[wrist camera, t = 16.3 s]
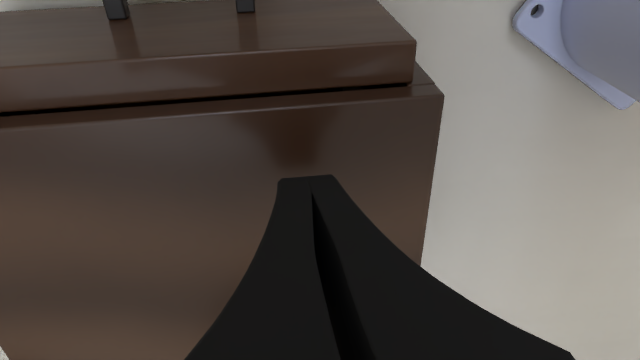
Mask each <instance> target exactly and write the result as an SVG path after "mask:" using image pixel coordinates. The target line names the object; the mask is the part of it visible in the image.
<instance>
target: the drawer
mask: <svg viewBox="0 0 640 360" xmlns="http://www.w3.org/2000/svg"><path fill="white" fill-rule="evenodd" d="M103 4H104V6H99V7H80V8H61V9H43V10H24V11H5V12H0V113H2V112H13V113H12V114H11V115H10V116H18V115H32V114H45V113H59V112H72V111H85V110H99V109H112V108H126V107H139V106H152V105H166V104H179V103H193V102H206V101H219V100H233V99H246V98H260V97H273V96H286V95H300V94H313V93H327V92H340V91H353V90H365V88H364V86H368V85H381V84H395V83H408V82H412V81H413V75H414V65H415V55H416V44H417V42H416V40H415V39H414V38H413V37H412V36H411V35H410V34H409V33H408V32H407V31H406V30H405V29H404V28H403V27H402V26H401V25H400V24H399V23H398V22H397V20H396V19H395V18H394V17H393V16H392V15H391V14H390V13H389V12H388V11H387V10H386V9H385V8H384V7H383V6H382V5H381V4H380V3H379V2H378V1H377V0H211V1H192V2H173V3H155V4H136V5H128V2H127V0H103Z"/></svg>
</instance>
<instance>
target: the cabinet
mask: <svg viewBox="0 0 640 360" xmlns="http://www.w3.org/2000/svg"><path fill="white" fill-rule="evenodd" d="M364 88H365V90H353V91H340V92H327V93H313V94H300V95H286V96H273V97H260V98H246V99H233V100H219V101H206V102H193V103H179V104H166V105H152V106H139V107H126V108H112V109H99V110H85V111H72V112H59V113H45V114H32V115H18V116H10V115H11V114H12V113H13V112H2V113H0V346H1V348H2V349H3V351H4V352H5V354H6V355H7V357H8V358H9V360H184V359H185V358H186V357H187V355H188V354H189V353H190V352H191V350H192V349H193V348H194V347H195V345H196V344H197V343H198V342H199V340H200V339H201V338H202V337H203V335H204V334H205V333H206V332H207V330H208V329H209V328H210V327H211V325H212V324H213V323H214V321H215V320H216V318H217V317H218V316H219V314H220V313H221V311H222V310H223V308H224V307H225V305H226V304H227V302H228V301H229V299H230V298H231V296H232V295H233V293H234V292H235V290H236V288H237V287H238V285H239V283H240V282H241V280H242V278H243V276H244V275H245V273H246V271H247V269H248V267H249V265H250V263H251V261H252V259H253V257H254V255H255V253H256V251H257V249H258V246H259V244H260V242H261V240H262V238H263V235H264V233H265V230H266V227H267V225H268V222H269V219H270V216H271V214H272V210H273V207H274V203H275V199H276V194H277V182H278V181H279V180H281V179H282V178H291V177H303V176H316V175H328V174H332V175H333V176H334V177H335V178H336V179H337V180H338V182H339V183H340V184H341V186H342V187H343V188H344V190H345V191H346V192H347V193H348V195H349V196H350V197H351V198H352V200H353V201H354V202H355V203H356V205H357V206H358V207H359V208H360V209H361V210H362V211H363V213H364V214H365V215H366V216H367V217H368V218H369V219H370V220H371V221H372V222H373V223H374V224H375V226H376V227H377V228H378V229H379V230H380V231H381V232H382V233H383V234H384V235H385V236H386V237H387V238H388V239H389V240H391V241H392V242H393V243H394V244H395V245H396V246H397V247H398V248H399V249H400V250H401V251H402V252H404V253H405V254H406V255H407V256H408V257H409V258H410V259H412V260H413V261H414V262H415V263H417V264H418V265H419V266H420V265H421V258H422V251H423V244H424V237H425V230H426V223H427V216H428V209H429V202H430V195H431V188H432V180H433V173H434V166H435V159H436V152H437V145H438V138H439V131H440V124H441V117H442V110H443V103H444V94H443V93H442V92H441V91H440V90H439V88H438V87H437V86H436V85H435V83H434V82H433V81H432V80H431V78H430V77H429V76H428V75H427V74H426V73H425V71H424V70H423V69H422V68H421V67H420V66H419V65H418V63H417V62H416V61H415V65H414V75H413V81H412V82H408V83H395V84H381V85H368V86H364Z"/></svg>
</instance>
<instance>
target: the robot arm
mask: <svg viewBox="0 0 640 360" xmlns="http://www.w3.org/2000/svg"><path fill="white" fill-rule="evenodd" d="M536 5H539V6H538V10H537V12H536V13H535V14H534V15H531V10H532V9H533V7H534V6H536ZM512 25H513V28H514V29H515V31H517V32H518V33H519V34H521V35H522V36H523V37H524V38H526V39H527V40H528V41H530V42H531V43H532V44H534V45H535V46H536V47H537V48H539V49H540V50H541V51H543V52H544V53H545V54H547V55H548V56H549V57H550V58H552V59H553V60H554V61H556V62H557V63H558V64H559V65H561V66H562V67H563V68H565V69H566V70H567V71H569V72H570V73H571V74H572V75H574V76H575V77H576V78H578V79H579V80H580V81H581V82H583V83H584V84H585V85H587V86H588V87H589V88H591V89H592V90H593V91H594V92H596V93H597V94H598V95H600V96H601V97H602V98H603V99H605V100H606V101H607V102H609V103H610V104H611V105H613V106H614V107H616V108H617V109H620V110H622V109H626V108H628V107H630V106H631V105H632V104H633V103H634V102H635V101H636V100H637V101H638V102H640V0H526V2H525V3H524V4H523V5H522V7H521V8H520V9H519V10H518V12H517V13H516V14H515V16H514V18H513V22H512ZM184 360H575V359H574V357H573V356H572V355H571V353H570V352H568V351H566V350H564V349H562V348H560V347H558V346H555V345H553V344H551V343H549V342H547V341H545V340H543V339H541V338H539V337H536V336H534V335H532V334H530V333H528V332H526V331H524V330H522V329H520V328H517V327H516V326H514V325H512V324H510V323H508V322H506V321H504V320H503V319H501V318H499V317H497V316H495V315H493V314H492V313H490V312H488V311H486V310H484V309H483V308H481V307H479V306H478V305H476V304H474V303H473V302H471V301H469V300H468V299H466V298H465V297H463V296H462V295H460V294H459V293H457V292H456V291H454V290H452V289H451V288H449V287H448V286H446V285H445V284H443V283H442V282H440V281H439V280H438V279H436V278H435V277H433V276H432V275H431V274H429V273H428V272H427V271H425V270H424V269H423V268H422V267H420V266H419V265H418V264H417V263H415V262H414V261H413V260H412V259H410V258H409V257H408V256H407V255H406V254H405V253H404V252H402V251H401V250H400V249H399V248H398V247H397V246H396V245H395V244H394V243H393V242H392V241H391V240H389V239H388V238H387V237H386V236H385V235H384V234H383V233H382V232H381V231H380V230H379V229H378V228H377V227H376V226H375V224H374V223H373V222H372V221H371V220H370V219H369V218H368V217H367V216H366V215H365V214H364V213H363V211H362V210H361V209H360V208H359V207H358V206H357V205H356V203H355V202H354V201H353V200H352V198H351V197H350V196H349V195H348V193H347V192H346V191H345V190H344V188H343V187H342V186H341V184H340V183H339V182H338V180H337V179H336V178H335V177H334V176H333V175H332V174H328V175H316V176H303V177H291V178H282V179H281V180H279V181H278V182H277V194H276V199H275V203H274V207H273V210H272V214H271V216H270V219H269V222H268V225H267V227H266V230H265V233H264V235H263V238H262V240H261V242H260V244H259V246H258V249H257V251H256V253H255V255H254V257H253V259H252V261H251V263H250V265H249V267H248V269H247V271H246V273H245V275H244V276H243V278H242V280H241V282H240V283H239V285H238V287H237V288H236V290H235V292H234V293H233V295H232V296H231V298H230V299H229V301H228V302H227V304H226V305H225V307H224V308H223V310H222V311H221V313H220V314H219V316H218V317H217V318H216V320H215V321H214V323H213V324H212V325H211V327H210V328H209V329H208V330H207V332H206V333H205V334H204V335H203V337H202V338H201V339H200V340H199V342H198V343H197V344H196V345H195V347H194V348H193V349H192V350H191V352H190V353H189V354H188V355H187V357H186V358H185V359H184Z"/></svg>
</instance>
